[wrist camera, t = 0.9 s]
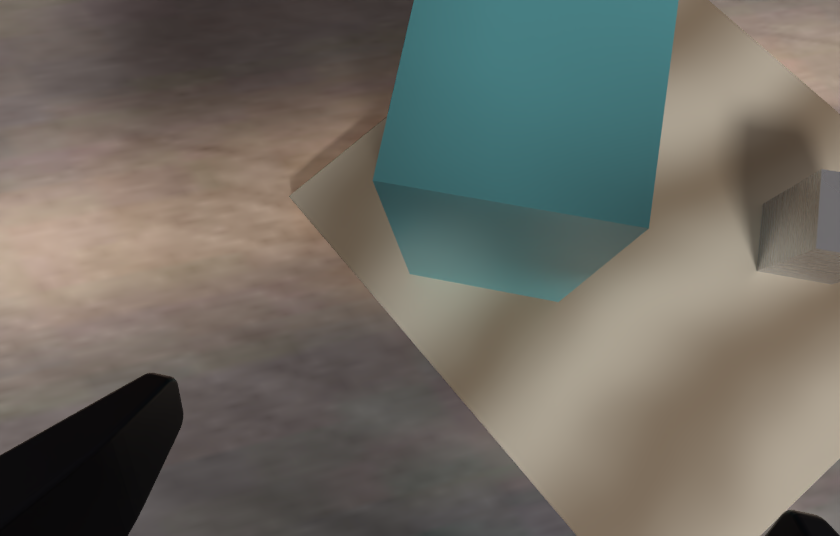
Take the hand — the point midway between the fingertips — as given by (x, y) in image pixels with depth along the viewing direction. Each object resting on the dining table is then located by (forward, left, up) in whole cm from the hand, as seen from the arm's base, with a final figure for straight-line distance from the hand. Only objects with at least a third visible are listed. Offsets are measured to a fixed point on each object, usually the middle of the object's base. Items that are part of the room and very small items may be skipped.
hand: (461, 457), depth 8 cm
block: (-3, -13, -12) cm, 19 cm away
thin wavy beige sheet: (+1, -9, -13) cm, 16 cm away
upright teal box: (+5, -6, -12) cm, 14 cm away
